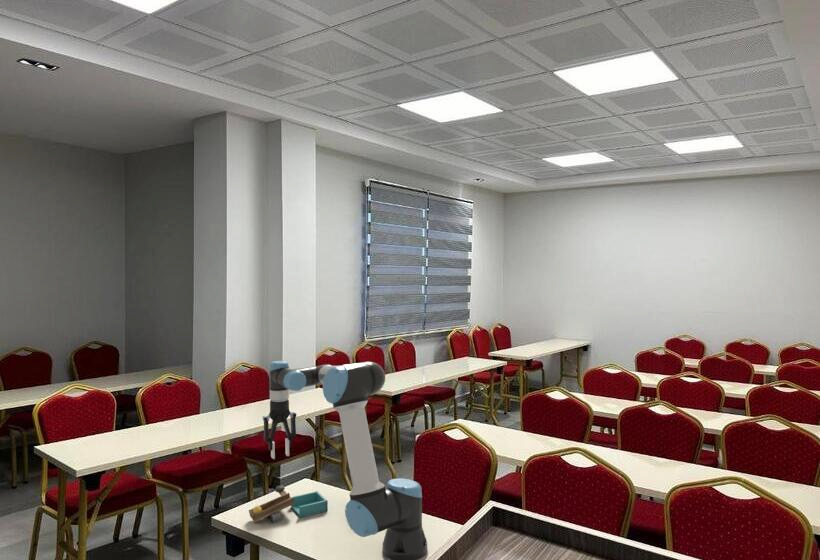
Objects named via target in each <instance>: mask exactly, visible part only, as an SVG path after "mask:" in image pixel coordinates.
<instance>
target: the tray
mask: <svg viewBox="0 0 820 560" xmlns="http://www.w3.org/2000/svg"><path fill="white" fill-rule="evenodd" d="M290 497H291V498H294V502H295V504H293V505H291V506H290V507H291V509H292V510H293V511H294V513H295V514H296V515H297V516H298V517H299V518H303V517H307V516H312V515H316V514H317V515H318V514H319V513H320V514H321V513H324V512H327V511H328V510H329V509H328V500H327V499H326V498H325V497H324V496H323V495H322V494H321V493H320V492H319V491H318V490H317V491H311V492H308V493H307V492H306V493H303V494H299V495H294V496H290Z"/></svg>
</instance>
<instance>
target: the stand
mask: <svg viewBox="0 0 820 560" xmlns="http://www.w3.org/2000/svg"><path fill="white" fill-rule="evenodd" d="M266 518H267V520H268V521H269V522H270V524H276V523H280V522H283V518H281V512H280V511H278V512H276V513H272V514H271V515H269V516H267V517H266Z"/></svg>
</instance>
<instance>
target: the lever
mask: <svg viewBox="0 0 820 560" xmlns="http://www.w3.org/2000/svg"><path fill="white" fill-rule="evenodd" d="M274 488H275V492H276V493H278V494H279V495H280V496H278V497H276V498H274V499H271V500H269V501H266V502H265V503H262V504H260V505H259V506H260V507H261V509H262V511H261V512H259V513H257V514H254V513H253V508H251V509H248V513H249V517H250V518H251V519H252V522H254V523H255V522H257V521H260V520H262V519H265V518H267V516H269V515H271V514H272V513H276V512H280V511H282V510H284V509H287V508H289V507H291V505H293V504H295V502H294V498H291V497H292V496H291V495H290V492H286V490H285V486H284V485H283V484H281V485H277V486H276V487H274Z"/></svg>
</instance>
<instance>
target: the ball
mask: <svg viewBox="0 0 820 560" xmlns="http://www.w3.org/2000/svg"><path fill="white" fill-rule="evenodd" d="M252 509H253V513H254V514H257V513H259V512H261V511H262V509H261V507H260V505H256V506H254V507H253V508H252Z"/></svg>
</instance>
